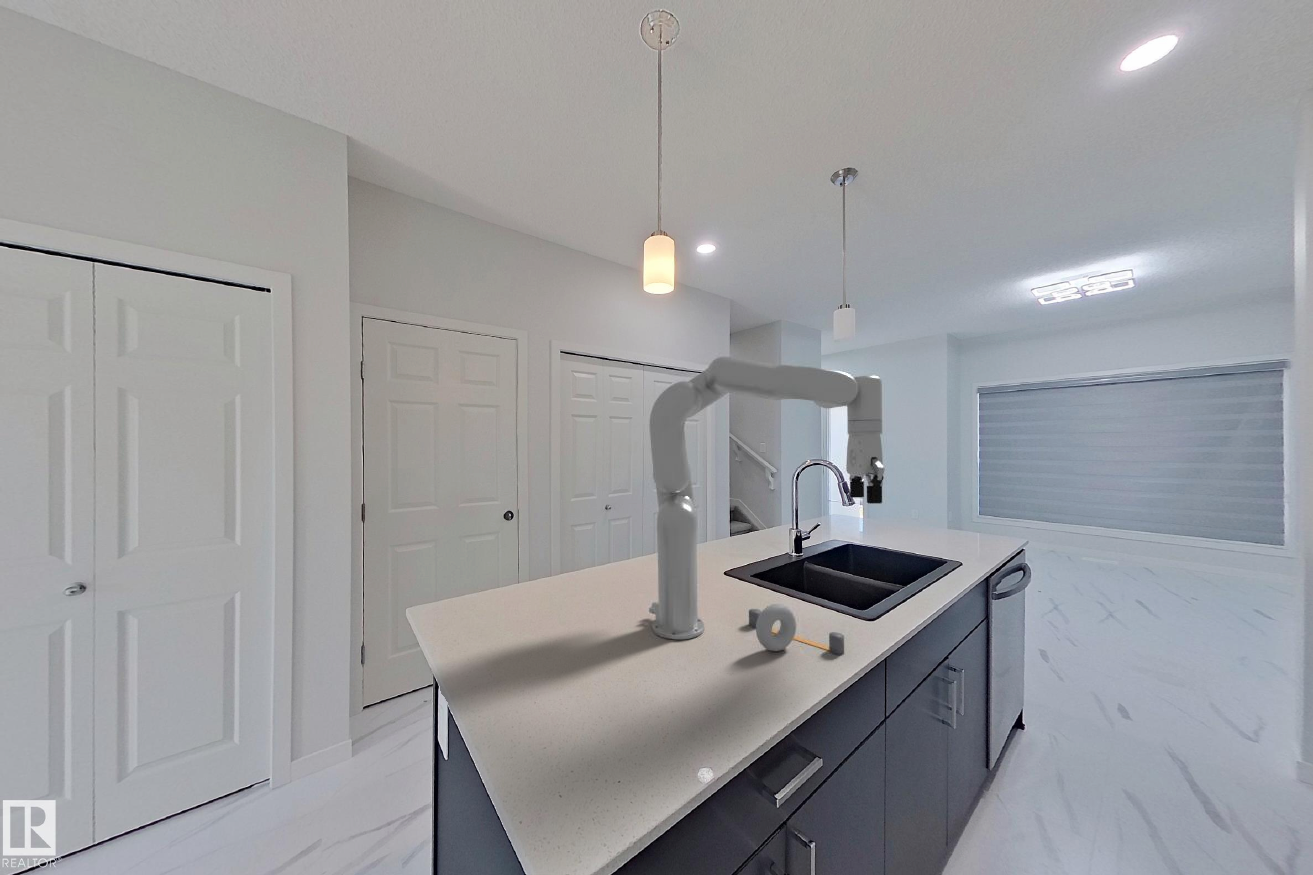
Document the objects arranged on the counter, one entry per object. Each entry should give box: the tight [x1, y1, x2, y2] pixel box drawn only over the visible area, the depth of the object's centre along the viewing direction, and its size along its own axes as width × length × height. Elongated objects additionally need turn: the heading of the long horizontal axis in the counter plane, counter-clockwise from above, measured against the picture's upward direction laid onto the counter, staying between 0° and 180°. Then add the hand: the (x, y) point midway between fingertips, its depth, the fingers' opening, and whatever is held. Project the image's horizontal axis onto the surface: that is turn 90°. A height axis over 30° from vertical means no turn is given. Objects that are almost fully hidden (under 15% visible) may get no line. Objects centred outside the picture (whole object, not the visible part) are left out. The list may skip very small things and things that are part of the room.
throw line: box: [748, 608, 845, 656], centre depth 103 cm, size 23×3×4 cm, turn 47°
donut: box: [755, 603, 797, 652], centre depth 97 cm, size 10×4×10 cm, turn 113°
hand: (865, 500), depth 106 cm, fingers open, 9 cm apart
